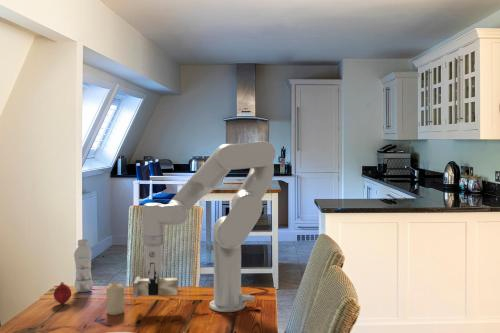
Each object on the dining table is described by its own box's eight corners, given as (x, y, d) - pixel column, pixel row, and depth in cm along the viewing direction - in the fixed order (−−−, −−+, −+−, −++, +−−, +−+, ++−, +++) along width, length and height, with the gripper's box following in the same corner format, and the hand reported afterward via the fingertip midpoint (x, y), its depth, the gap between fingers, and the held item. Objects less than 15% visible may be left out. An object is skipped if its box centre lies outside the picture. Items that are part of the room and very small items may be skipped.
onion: (74, 304, 172) (74, 281, 172) (58, 308, 168) (58, 285, 167) (66, 300, 176) (66, 278, 176) (51, 304, 172) (50, 282, 171)
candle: (119, 315, 161) (118, 285, 160) (104, 314, 162) (103, 284, 161) (126, 309, 166) (126, 281, 166) (111, 308, 167) (111, 280, 167)
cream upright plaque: (177, 289, 170) (177, 275, 169) (176, 297, 162) (176, 282, 161) (136, 290, 168) (136, 276, 168) (133, 298, 160) (133, 283, 160)
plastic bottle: (89, 294, 183) (89, 241, 182) (71, 294, 183) (71, 241, 182) (95, 289, 189) (94, 238, 188) (78, 289, 189) (77, 238, 188)
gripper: (163, 244, 156) (163, 300, 157) (166, 234, 172) (166, 285, 173) (139, 244, 155) (139, 301, 156) (145, 235, 172) (145, 286, 173)
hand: (153, 292), depth 165 cm, fingers closed on cream upright plaque, 3 cm apart
